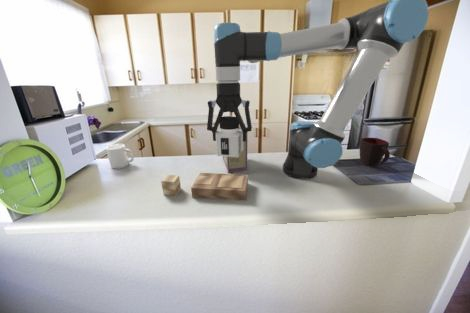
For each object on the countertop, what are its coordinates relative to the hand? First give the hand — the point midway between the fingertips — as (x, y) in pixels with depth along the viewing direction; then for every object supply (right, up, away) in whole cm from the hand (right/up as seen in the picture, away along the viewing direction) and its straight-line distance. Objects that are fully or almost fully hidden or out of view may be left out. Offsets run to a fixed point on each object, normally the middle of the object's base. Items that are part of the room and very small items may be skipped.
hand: (230, 149), depth 72 cm
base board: (-4, -16, +7) cm, 18 cm away
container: (0, -1, +1) cm, 1 cm away
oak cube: (-23, -16, +7) cm, 29 cm away
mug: (+67, -7, +25) cm, 72 cm away
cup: (-55, -7, +30) cm, 63 cm away
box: (+1, -7, +29) cm, 30 cm away
